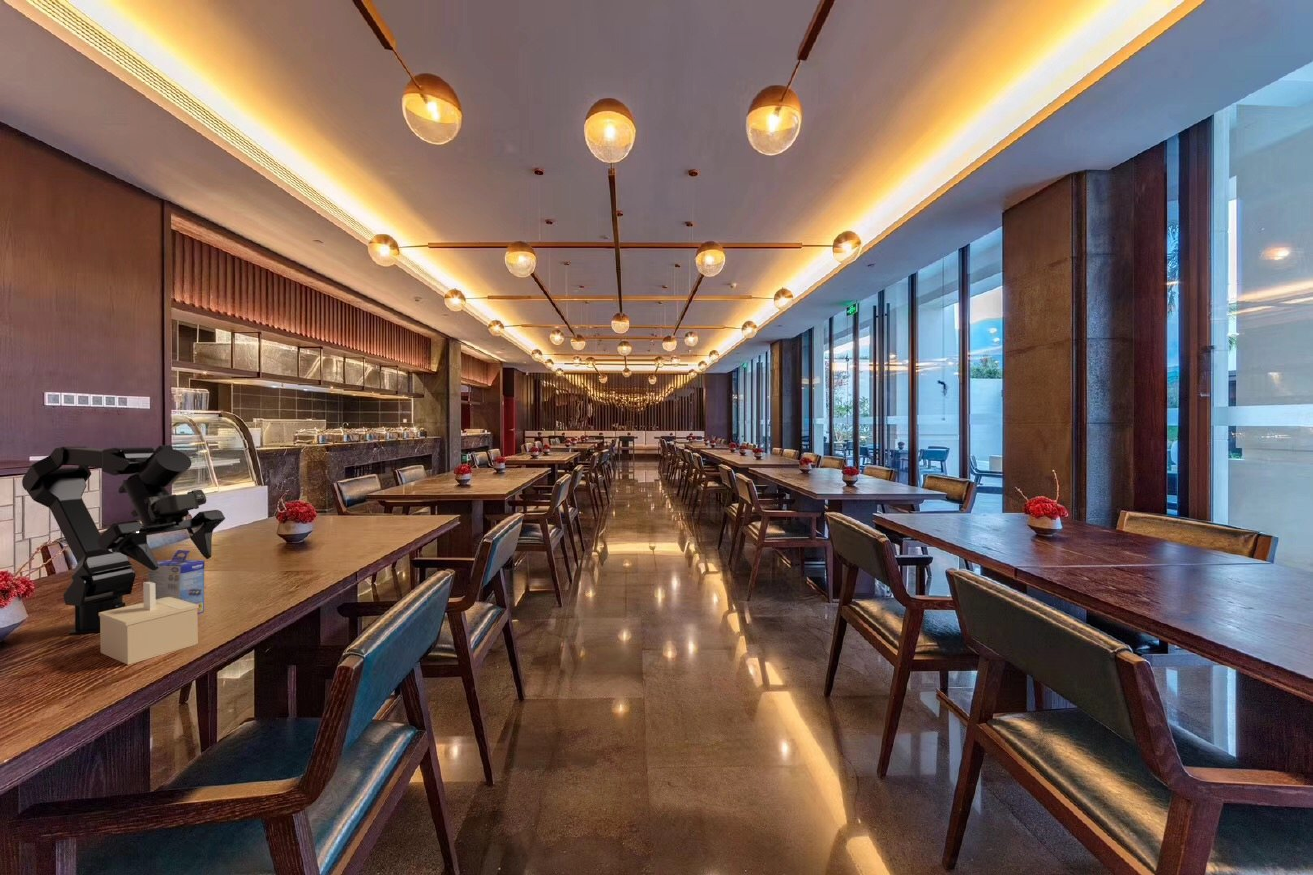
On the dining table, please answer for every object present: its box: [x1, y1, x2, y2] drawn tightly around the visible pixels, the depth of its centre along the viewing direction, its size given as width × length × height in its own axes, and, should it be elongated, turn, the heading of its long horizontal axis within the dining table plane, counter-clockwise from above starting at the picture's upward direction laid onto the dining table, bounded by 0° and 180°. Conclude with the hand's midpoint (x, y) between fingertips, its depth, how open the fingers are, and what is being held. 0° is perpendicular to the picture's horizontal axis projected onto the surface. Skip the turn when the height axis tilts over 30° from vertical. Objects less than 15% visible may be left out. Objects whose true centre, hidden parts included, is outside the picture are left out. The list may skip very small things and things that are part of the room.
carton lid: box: [99, 581, 199, 626], centre depth 98 cm, size 12×10×6 cm
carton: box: [99, 608, 199, 665], centre depth 98 cm, size 12×10×7 cm
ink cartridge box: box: [147, 549, 206, 615], centre depth 117 cm, size 10×6×14 cm, turn 78°
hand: (183, 563), depth 102 cm, fingers open, 9 cm apart
